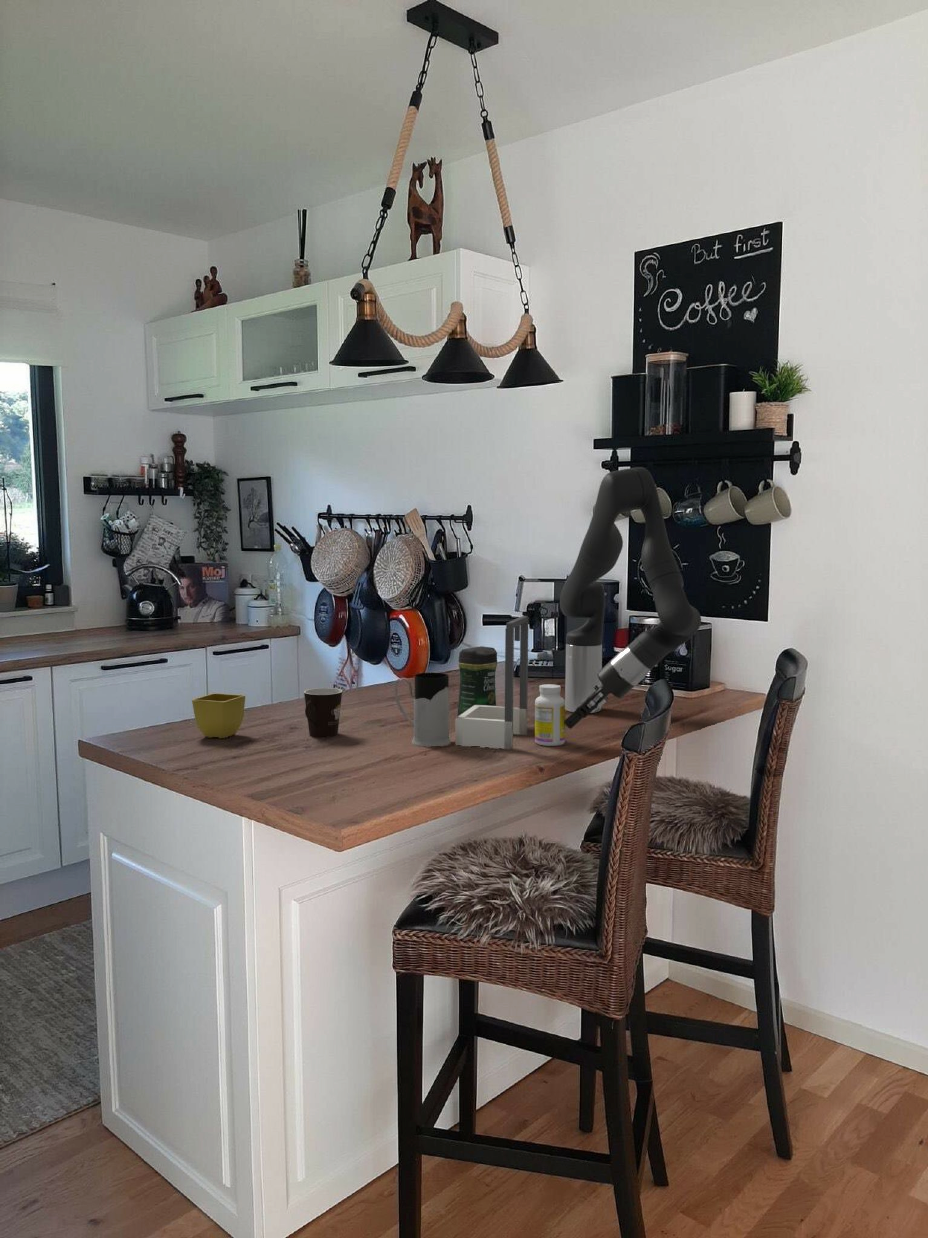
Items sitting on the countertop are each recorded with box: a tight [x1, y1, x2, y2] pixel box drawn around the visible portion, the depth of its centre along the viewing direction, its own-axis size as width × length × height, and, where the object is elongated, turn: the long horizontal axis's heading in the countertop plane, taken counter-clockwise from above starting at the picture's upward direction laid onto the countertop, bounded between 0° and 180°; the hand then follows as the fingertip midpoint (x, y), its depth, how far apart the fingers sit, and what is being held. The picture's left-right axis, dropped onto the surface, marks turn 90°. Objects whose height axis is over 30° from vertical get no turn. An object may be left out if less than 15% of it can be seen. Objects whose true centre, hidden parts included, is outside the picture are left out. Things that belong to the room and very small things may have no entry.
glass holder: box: [393, 672, 452, 748], centre depth 215 cm, size 9×14×15 cm, turn 59°
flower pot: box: [191, 692, 246, 739], centre depth 219 cm, size 9×9×9 cm
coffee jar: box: [456, 646, 498, 718], centre depth 234 cm, size 10×8×19 cm
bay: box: [454, 615, 529, 750], centre depth 216 cm, size 16×12×27 cm
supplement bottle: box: [534, 683, 566, 747], centre depth 213 cm, size 7×7×13 cm
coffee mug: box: [303, 687, 343, 739], centre depth 220 cm, size 12×9×10 cm
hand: (567, 725), depth 212 cm, fingers closed
